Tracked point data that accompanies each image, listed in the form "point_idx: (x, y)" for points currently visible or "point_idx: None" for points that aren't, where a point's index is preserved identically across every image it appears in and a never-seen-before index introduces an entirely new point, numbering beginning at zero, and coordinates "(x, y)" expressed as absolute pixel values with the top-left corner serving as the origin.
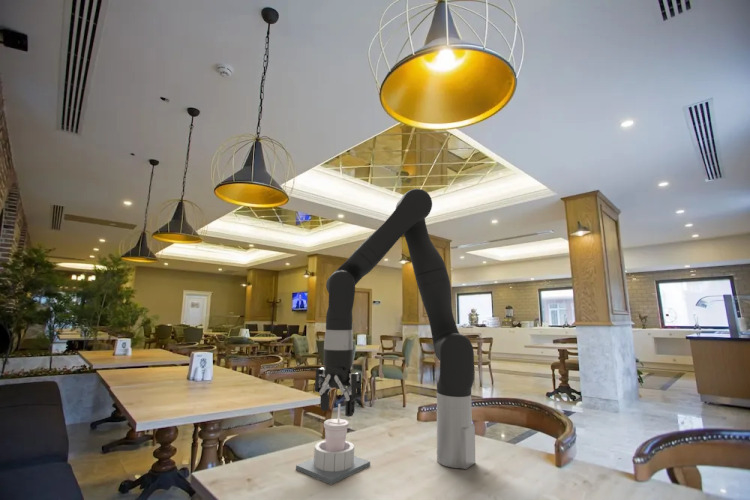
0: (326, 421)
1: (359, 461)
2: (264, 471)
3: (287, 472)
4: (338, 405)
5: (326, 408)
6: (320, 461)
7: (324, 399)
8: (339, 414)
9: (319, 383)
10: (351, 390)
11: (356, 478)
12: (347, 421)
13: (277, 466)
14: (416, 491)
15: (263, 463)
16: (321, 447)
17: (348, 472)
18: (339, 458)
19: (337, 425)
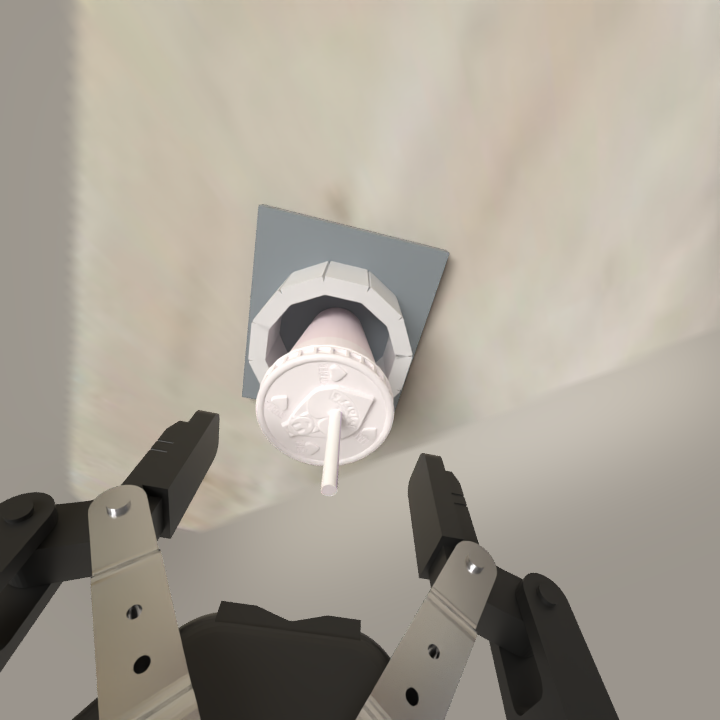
0: (270, 426)
1: (410, 274)
2: None
3: (240, 411)
4: (325, 487)
5: (214, 434)
6: None
7: (185, 504)
8: (338, 442)
9: (12, 640)
10: (503, 697)
11: (437, 358)
12: (373, 380)
13: (184, 395)
14: (629, 352)
15: (133, 397)
16: (269, 349)
17: (410, 363)
18: None
19: (357, 447)
